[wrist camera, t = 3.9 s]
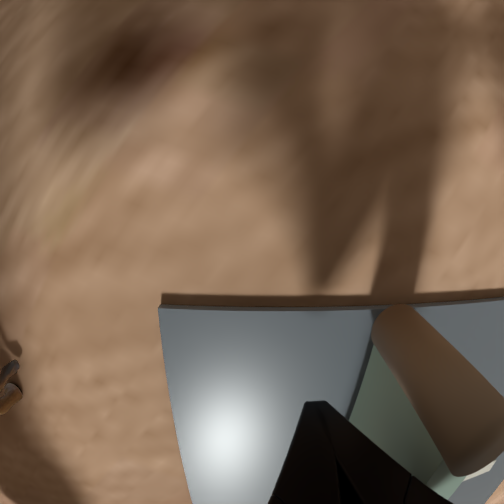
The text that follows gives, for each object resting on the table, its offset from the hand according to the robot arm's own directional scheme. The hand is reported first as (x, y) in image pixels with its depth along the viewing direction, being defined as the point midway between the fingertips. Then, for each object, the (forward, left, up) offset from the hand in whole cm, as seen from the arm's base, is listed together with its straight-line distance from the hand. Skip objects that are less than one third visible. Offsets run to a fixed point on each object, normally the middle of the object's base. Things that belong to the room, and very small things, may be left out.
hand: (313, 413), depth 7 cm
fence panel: (-9, -2, -3) cm, 10 cm away
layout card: (-9, -6, -3) cm, 11 cm away
